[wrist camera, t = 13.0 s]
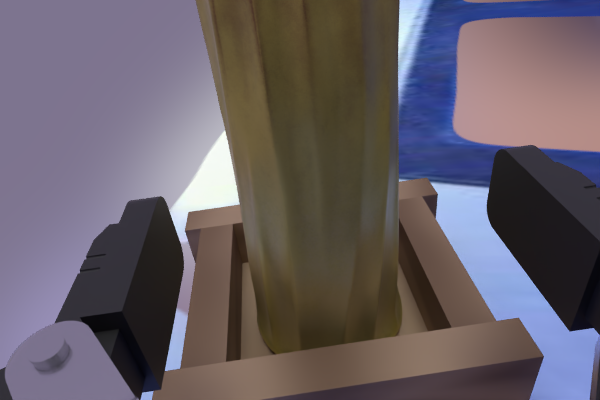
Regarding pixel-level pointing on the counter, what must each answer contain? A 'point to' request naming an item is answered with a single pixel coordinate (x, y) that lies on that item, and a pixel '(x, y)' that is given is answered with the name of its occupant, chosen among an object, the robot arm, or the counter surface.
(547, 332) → the counter surface
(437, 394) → the socket block
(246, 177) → the vase
